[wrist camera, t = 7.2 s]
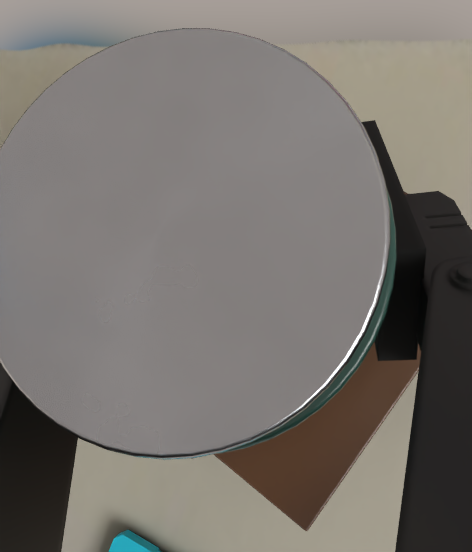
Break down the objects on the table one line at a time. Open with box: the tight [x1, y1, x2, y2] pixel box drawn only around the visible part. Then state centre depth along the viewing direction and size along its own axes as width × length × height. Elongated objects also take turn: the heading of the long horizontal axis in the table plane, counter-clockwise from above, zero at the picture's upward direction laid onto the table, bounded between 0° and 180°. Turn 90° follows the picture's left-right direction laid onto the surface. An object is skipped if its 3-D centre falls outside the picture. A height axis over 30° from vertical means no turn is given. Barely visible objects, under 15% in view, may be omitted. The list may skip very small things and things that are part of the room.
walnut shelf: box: [214, 191, 472, 531], centre depth 25 cm, size 11×13×14 cm
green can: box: [0, 28, 397, 459], centre depth 11 cm, size 6×6×12 cm
